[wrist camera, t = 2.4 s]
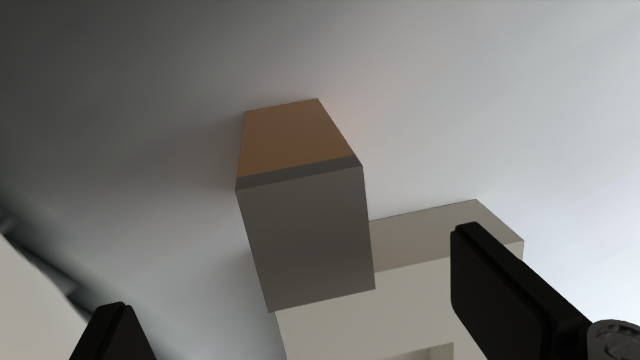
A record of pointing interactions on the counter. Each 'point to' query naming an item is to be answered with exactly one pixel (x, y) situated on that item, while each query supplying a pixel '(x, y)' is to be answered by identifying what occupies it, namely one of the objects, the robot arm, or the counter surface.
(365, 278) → the two-tone square block
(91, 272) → the counter surface
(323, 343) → the socket plate
